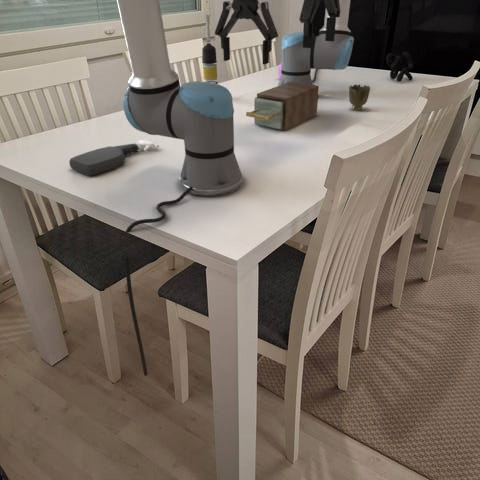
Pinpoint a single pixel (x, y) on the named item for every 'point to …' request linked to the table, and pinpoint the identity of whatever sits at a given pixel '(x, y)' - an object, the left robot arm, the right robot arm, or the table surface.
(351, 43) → the right robot arm
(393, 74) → the squiggle
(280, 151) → the table surface
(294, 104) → the cabinet
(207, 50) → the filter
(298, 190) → the table surface
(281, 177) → the table surface
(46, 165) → the table surface
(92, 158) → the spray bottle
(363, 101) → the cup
